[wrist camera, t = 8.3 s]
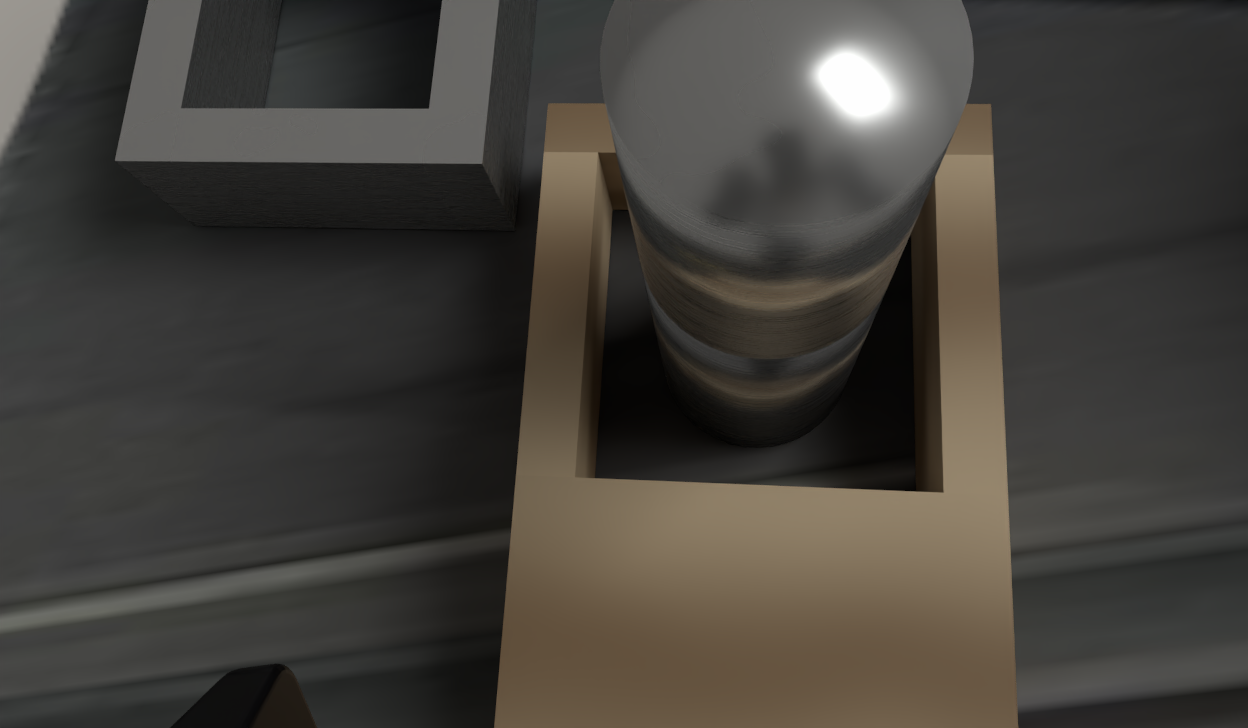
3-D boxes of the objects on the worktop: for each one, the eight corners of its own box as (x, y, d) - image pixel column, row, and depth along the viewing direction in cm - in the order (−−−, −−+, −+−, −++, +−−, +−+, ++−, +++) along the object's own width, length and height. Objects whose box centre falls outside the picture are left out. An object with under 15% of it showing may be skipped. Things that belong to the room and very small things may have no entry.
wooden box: (986, 942, 17) (1029, 987, 15) (510, 900, 18) (475, 938, 15) (960, 167, 21) (991, 104, 18) (568, 165, 22) (548, 103, 19)
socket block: (514, 230, 21) (482, 163, 18) (195, 225, 22) (114, 160, 19) (541, -58, 23) (515, -158, 20) (246, -53, 24) (180, -150, 21)
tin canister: (832, 463, 19) (947, 253, 9) (646, 427, 20) (563, 191, 10) (862, 286, 20) (995, -80, 10) (683, 256, 21) (641, -120, 11)
